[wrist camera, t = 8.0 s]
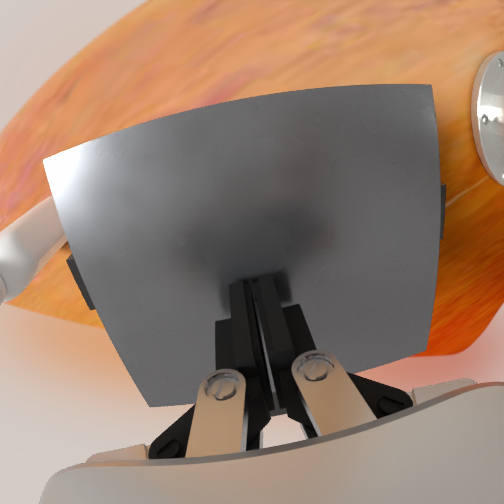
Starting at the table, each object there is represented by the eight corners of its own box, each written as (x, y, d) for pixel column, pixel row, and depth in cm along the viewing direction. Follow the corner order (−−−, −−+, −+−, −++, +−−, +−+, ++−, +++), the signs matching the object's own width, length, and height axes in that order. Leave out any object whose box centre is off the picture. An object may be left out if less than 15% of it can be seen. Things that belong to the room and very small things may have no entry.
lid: (417, 86, 10) (431, 84, 9) (413, 364, 16) (420, 375, 15) (55, 156, 10) (42, 160, 9) (165, 415, 16) (163, 428, 15)
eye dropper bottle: (94, 244, 21) (13, 364, 10) (35, 248, 20) (-52, 350, 10) (83, 186, 19) (-29, 279, 8) (22, 195, 18) (-87, 279, 8)
